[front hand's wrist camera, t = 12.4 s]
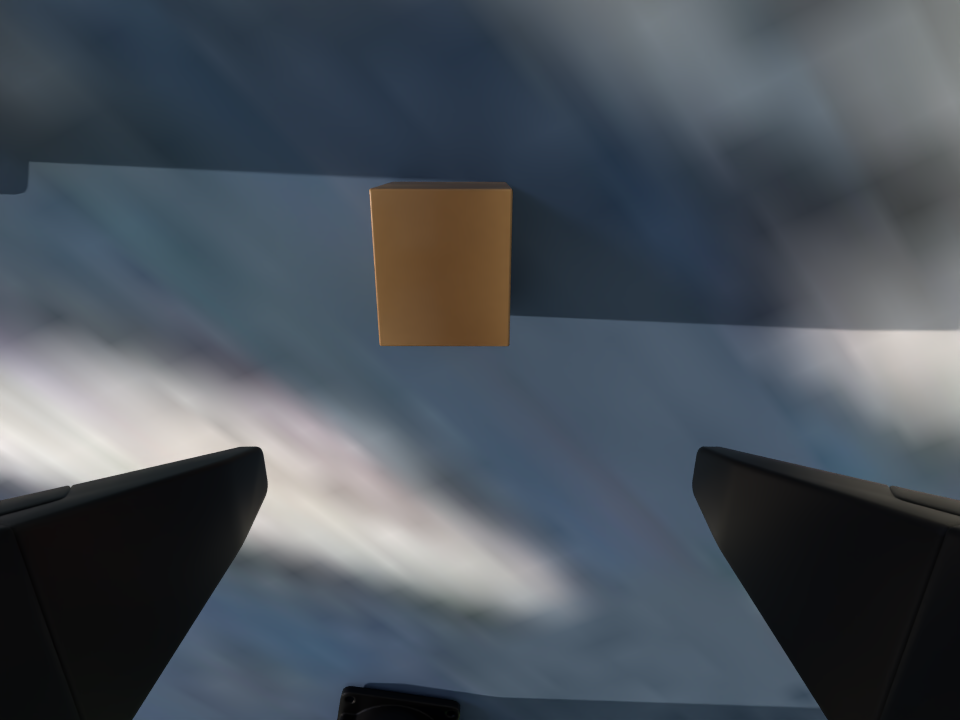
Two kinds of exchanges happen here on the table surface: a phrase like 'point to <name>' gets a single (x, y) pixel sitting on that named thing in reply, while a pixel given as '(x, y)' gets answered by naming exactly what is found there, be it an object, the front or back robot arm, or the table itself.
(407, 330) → the brown block
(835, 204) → the table surface
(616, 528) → the table surface
